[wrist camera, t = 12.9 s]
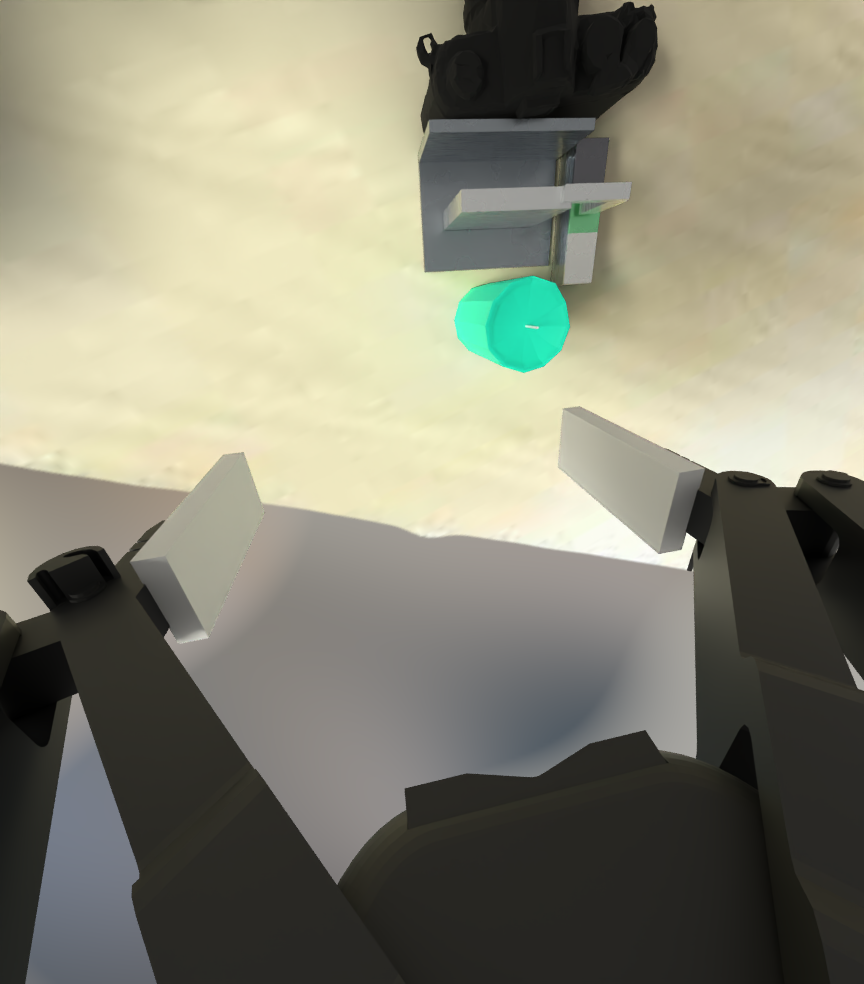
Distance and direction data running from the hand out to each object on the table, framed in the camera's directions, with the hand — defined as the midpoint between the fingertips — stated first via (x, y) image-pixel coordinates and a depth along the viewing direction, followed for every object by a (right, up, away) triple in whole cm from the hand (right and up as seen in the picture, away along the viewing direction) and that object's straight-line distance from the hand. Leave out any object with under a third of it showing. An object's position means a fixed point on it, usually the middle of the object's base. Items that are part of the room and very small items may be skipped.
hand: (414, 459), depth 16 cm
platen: (+7, +21, +15) cm, 27 cm away
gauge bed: (+7, +21, +16) cm, 27 cm away
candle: (+6, +15, +19) cm, 25 cm away
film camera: (+6, +30, +12) cm, 33 cm away
